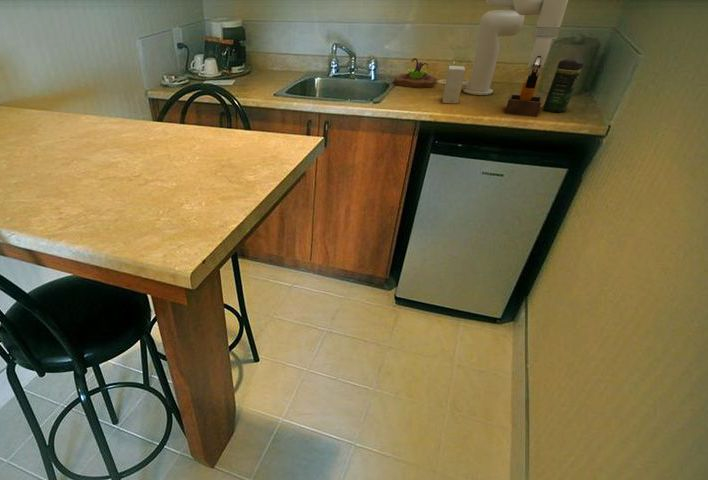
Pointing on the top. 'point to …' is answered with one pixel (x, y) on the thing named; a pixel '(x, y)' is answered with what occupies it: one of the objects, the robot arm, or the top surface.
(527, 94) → the carrot
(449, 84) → the small box
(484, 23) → the robot arm
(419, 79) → the plant
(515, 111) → the pen box
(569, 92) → the coffee jar
